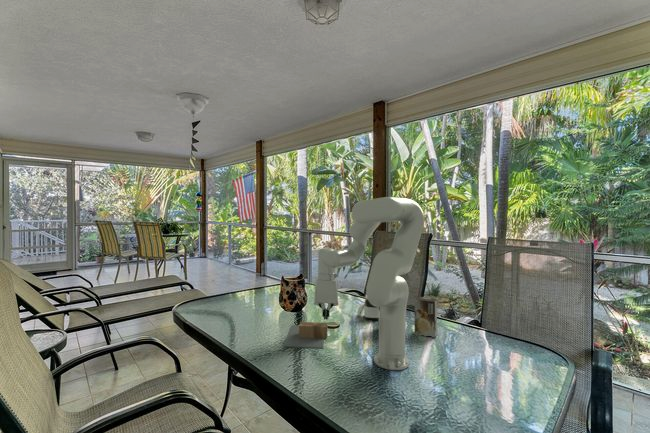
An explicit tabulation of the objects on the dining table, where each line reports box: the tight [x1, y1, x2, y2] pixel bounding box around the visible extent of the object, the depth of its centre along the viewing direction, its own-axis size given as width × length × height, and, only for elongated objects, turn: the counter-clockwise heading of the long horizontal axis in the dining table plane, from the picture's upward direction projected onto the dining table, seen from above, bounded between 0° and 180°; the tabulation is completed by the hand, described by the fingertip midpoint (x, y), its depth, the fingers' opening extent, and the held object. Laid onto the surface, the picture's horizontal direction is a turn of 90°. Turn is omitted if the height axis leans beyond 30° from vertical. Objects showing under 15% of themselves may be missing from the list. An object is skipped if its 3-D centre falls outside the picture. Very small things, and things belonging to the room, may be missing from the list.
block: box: [299, 321, 328, 339], centre depth 140 cm, size 5×5×12 cm
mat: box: [282, 324, 325, 349], centre depth 140 cm, size 24×16×1 cm, turn 177°
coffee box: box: [414, 296, 438, 338], centre depth 144 cm, size 9×6×16 cm
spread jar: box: [356, 294, 379, 321], centre depth 166 cm, size 12×11×12 cm
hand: (325, 318), depth 139 cm, fingers closed
